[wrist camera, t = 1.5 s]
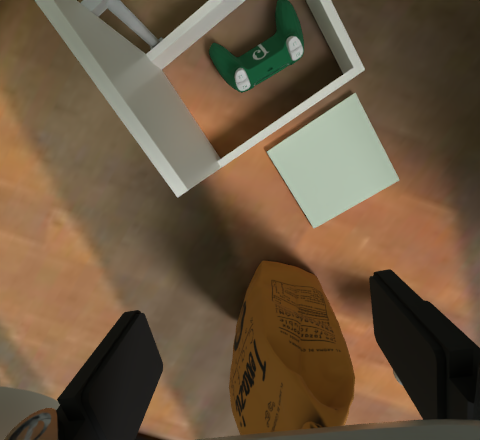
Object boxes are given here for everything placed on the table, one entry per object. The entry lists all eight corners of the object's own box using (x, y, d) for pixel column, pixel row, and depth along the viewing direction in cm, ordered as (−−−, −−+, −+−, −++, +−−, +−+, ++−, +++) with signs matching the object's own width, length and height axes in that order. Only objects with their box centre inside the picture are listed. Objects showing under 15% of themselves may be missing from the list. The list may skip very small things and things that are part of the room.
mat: (353, 93, 28) (355, 92, 28) (396, 179, 30) (399, 180, 30) (266, 151, 31) (266, 151, 30) (313, 227, 33) (314, 228, 32)
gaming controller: (220, 76, 30) (234, 106, 27) (204, 44, 27) (218, 75, 24) (293, 30, 29) (317, 57, 26) (285, -9, 25) (311, 17, 22)
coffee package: (225, 320, 38) (183, 545, 17) (259, 247, 34) (261, 417, 13) (288, 345, 38) (324, 593, 17) (328, 276, 35) (436, 483, 14)
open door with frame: (284, -62, 25) (331, -444, 9) (354, 77, 28) (487, -14, 12) (145, 57, 29) (-5, -53, 12) (219, 168, 32) (177, 197, 15)
